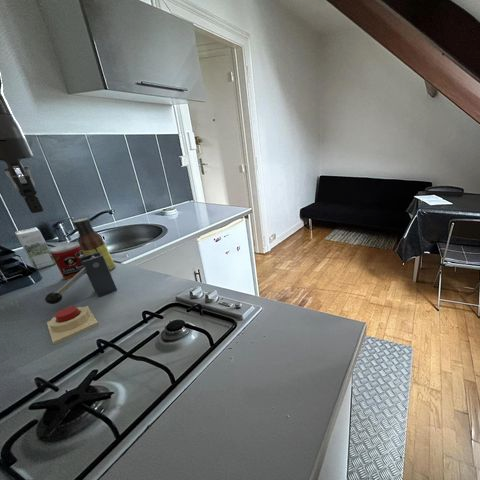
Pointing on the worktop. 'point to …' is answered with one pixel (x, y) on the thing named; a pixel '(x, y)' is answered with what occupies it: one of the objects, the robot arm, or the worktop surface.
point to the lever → (64, 288)
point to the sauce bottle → (92, 241)
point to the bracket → (98, 274)
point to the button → (67, 314)
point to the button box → (71, 325)
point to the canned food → (68, 258)
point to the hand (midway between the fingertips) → (37, 211)
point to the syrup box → (35, 248)
